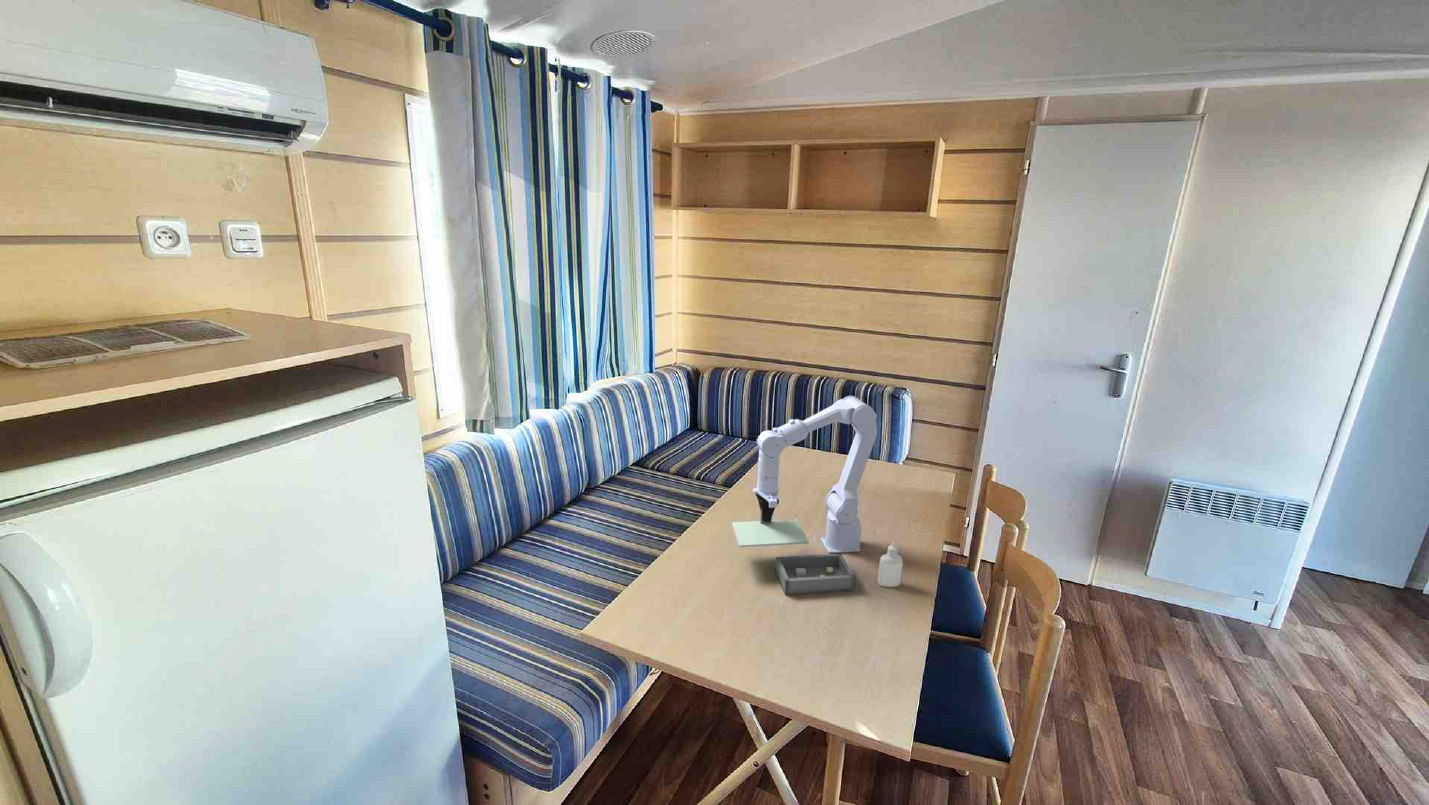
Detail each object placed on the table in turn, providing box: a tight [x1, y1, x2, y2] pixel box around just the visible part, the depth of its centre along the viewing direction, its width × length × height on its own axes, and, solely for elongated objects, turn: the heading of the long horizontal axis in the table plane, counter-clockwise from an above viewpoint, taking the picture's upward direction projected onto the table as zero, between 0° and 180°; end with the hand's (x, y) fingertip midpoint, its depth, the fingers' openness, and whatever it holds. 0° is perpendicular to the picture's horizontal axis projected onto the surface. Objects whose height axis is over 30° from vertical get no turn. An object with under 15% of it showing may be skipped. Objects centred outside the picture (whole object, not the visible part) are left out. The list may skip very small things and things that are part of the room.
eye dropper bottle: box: [877, 541, 904, 588], centre depth 147 cm, size 4×6×12 cm
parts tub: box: [774, 553, 856, 596], centre depth 149 cm, size 18×11×4 cm, turn 97°
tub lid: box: [731, 509, 810, 548], centre depth 155 cm, size 19×12×5 cm, turn 98°
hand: (765, 519), depth 160 cm, fingers closed on tub lid
